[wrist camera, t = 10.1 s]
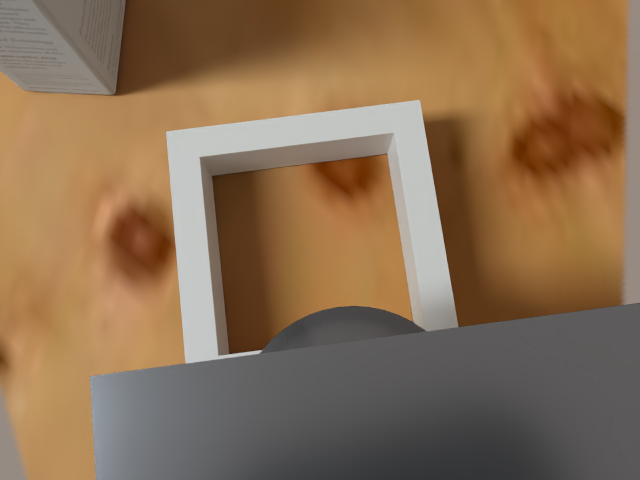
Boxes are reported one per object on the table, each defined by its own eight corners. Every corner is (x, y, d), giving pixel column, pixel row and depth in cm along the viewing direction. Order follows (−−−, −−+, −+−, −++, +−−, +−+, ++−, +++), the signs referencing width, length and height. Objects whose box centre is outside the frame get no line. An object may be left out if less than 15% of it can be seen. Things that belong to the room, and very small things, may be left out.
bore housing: (449, 356, 23) (463, 357, 21) (202, 389, 23) (188, 394, 21) (410, 124, 25) (419, 99, 23) (181, 152, 25) (166, 131, 23)
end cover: (476, 516, 16) (1086, 1215, 3) (257, 546, 16) (-46, 1379, 3) (439, 298, 17) (772, 142, 4) (235, 325, 17) (-59, 251, 4)
